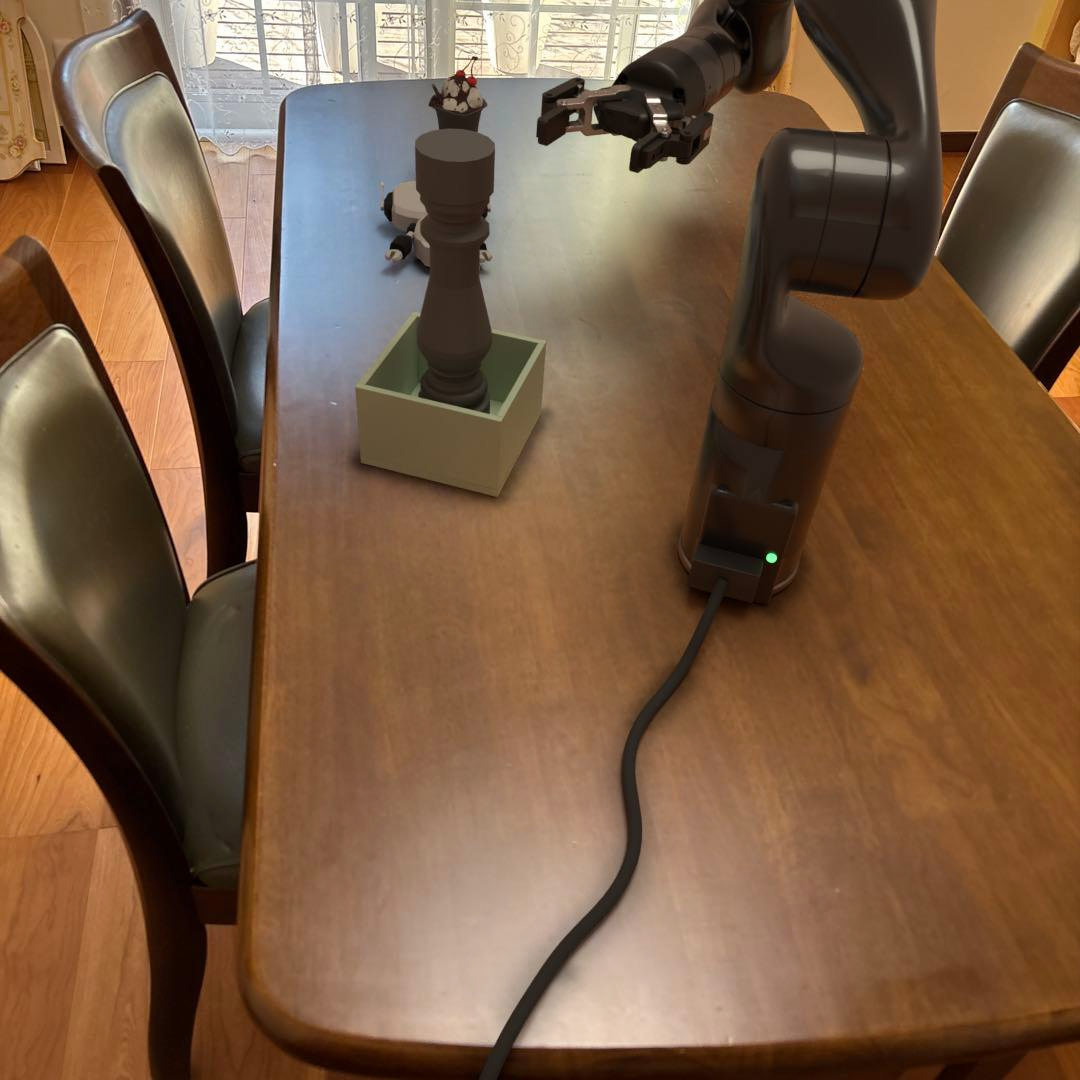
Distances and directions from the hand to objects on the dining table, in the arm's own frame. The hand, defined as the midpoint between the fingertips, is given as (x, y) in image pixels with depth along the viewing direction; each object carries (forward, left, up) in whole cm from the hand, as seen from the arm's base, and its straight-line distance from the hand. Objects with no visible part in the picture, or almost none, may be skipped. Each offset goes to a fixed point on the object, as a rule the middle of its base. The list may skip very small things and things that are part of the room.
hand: (587, 146), depth 83 cm
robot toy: (+18, +20, -22) cm, 35 cm away
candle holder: (-14, +6, -21) cm, 26 cm away
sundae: (+33, +23, -22) cm, 46 cm away
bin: (-14, +6, -22) cm, 26 cm away
